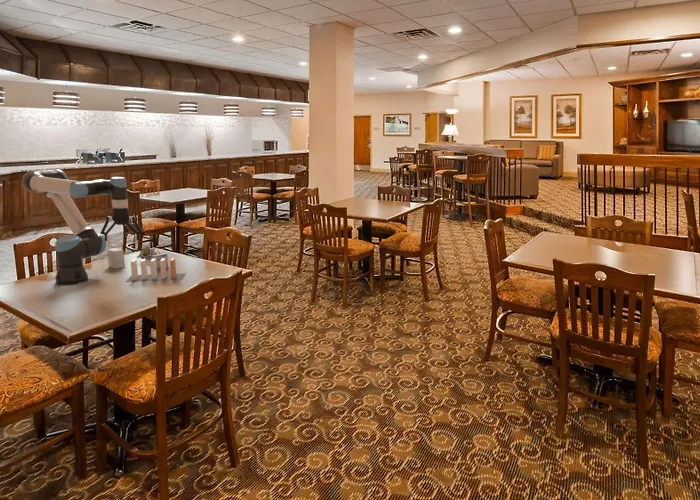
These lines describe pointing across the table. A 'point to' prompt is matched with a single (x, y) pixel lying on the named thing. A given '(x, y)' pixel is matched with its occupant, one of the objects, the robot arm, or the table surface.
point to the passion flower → (147, 253)
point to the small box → (116, 258)
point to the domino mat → (157, 278)
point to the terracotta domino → (173, 268)
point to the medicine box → (159, 257)
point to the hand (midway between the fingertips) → (122, 246)
